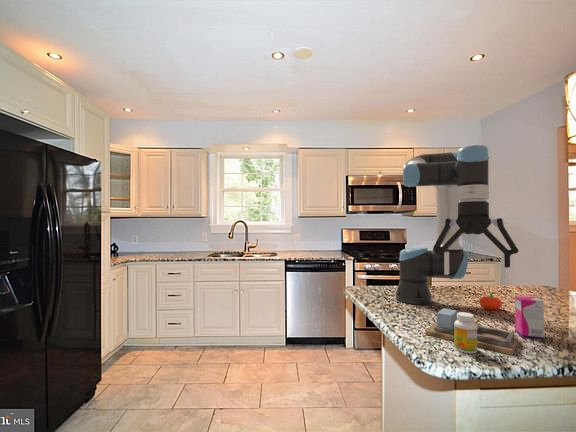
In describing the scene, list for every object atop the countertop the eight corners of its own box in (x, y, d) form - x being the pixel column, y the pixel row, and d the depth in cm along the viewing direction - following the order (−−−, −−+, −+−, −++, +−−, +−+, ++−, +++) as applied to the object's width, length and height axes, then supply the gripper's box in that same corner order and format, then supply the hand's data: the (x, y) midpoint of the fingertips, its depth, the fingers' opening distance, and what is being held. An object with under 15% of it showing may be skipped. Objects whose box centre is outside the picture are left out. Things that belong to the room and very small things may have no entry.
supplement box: (536, 332, 97) (536, 296, 97) (545, 339, 92) (544, 301, 92) (514, 330, 99) (514, 295, 99) (521, 337, 93) (521, 299, 94)
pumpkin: (476, 307, 127) (475, 291, 128) (497, 309, 126) (496, 292, 126) (483, 310, 120) (482, 293, 121) (506, 311, 119) (505, 294, 120)
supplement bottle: (450, 346, 87) (449, 311, 87) (468, 345, 87) (467, 311, 87) (462, 354, 81) (462, 317, 81) (481, 353, 82) (481, 317, 82)
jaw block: (437, 328, 96) (436, 312, 96) (443, 323, 101) (443, 308, 101) (451, 332, 93) (450, 315, 93) (457, 326, 99) (456, 310, 99)
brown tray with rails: (425, 334, 95) (425, 325, 96) (438, 324, 105) (438, 316, 105) (512, 355, 81) (512, 344, 81) (518, 341, 90) (518, 331, 90)
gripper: (422, 202, 91) (422, 273, 91) (529, 198, 76) (530, 284, 75) (429, 203, 97) (429, 270, 97) (529, 200, 82) (530, 280, 81)
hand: (473, 276), depth 86 cm, fingers open, 13 cm apart
